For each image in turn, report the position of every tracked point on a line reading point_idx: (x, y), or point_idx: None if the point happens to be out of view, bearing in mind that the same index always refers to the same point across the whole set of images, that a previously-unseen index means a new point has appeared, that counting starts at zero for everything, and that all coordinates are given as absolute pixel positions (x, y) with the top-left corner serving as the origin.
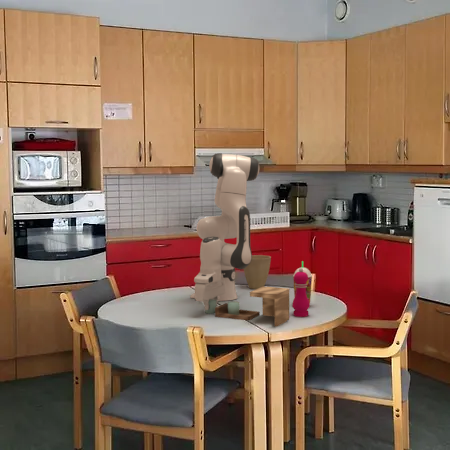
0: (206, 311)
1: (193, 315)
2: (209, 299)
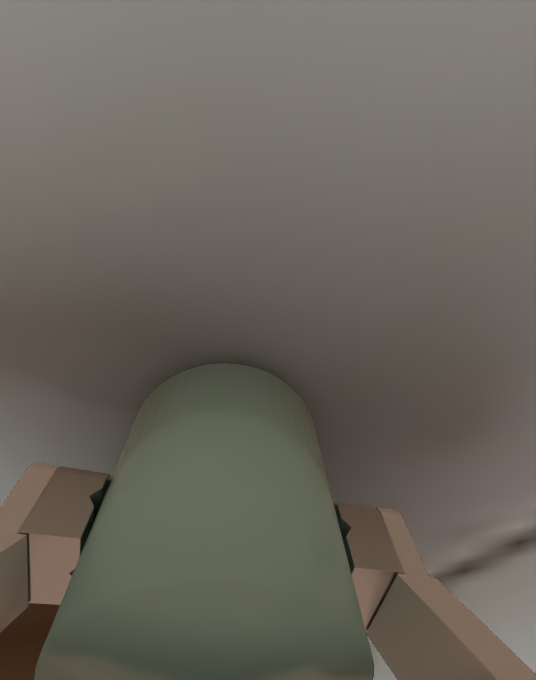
0: (131, 431)
1: (69, 170)
2: (306, 646)
